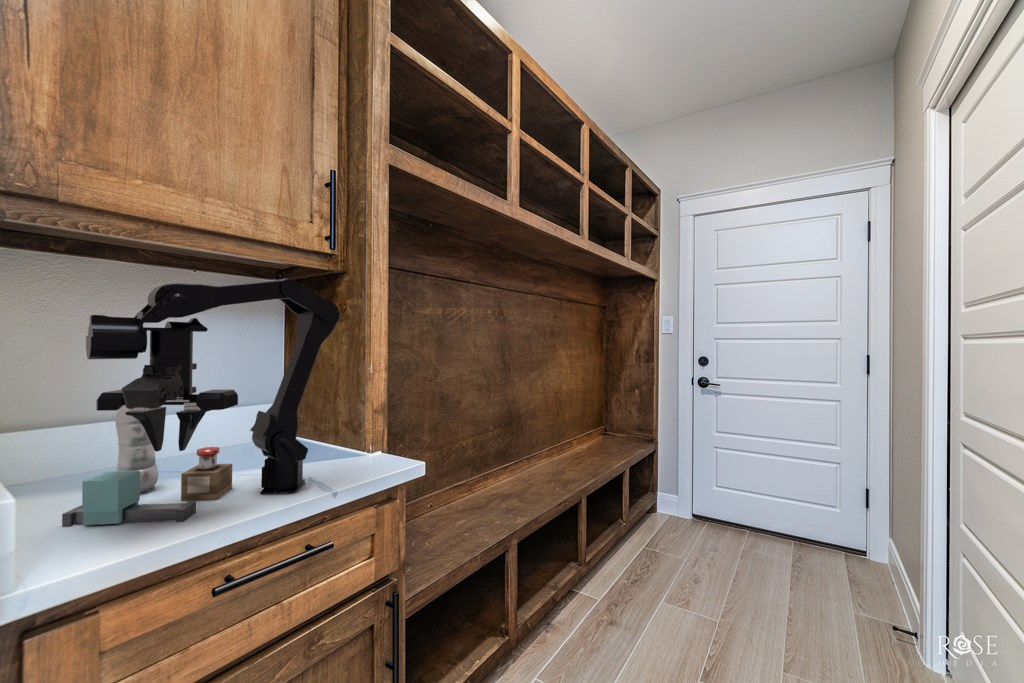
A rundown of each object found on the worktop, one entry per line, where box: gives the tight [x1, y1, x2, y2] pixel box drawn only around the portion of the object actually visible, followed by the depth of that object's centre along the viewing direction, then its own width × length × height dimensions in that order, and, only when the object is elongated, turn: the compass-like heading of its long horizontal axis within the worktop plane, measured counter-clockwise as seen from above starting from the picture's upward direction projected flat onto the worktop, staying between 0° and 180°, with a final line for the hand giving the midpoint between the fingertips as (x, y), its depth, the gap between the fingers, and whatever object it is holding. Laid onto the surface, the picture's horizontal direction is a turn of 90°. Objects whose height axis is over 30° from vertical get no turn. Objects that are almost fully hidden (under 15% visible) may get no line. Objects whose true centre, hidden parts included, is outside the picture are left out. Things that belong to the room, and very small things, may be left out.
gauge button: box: [196, 446, 220, 471], centre depth 84 cm, size 4×4×6 cm
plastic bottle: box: [114, 405, 159, 493], centre depth 85 cm, size 6×7×20 cm
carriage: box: [81, 470, 141, 526], centre depth 72 cm, size 5×5×7 cm
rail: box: [61, 500, 197, 528], centre depth 72 cm, size 17×4×2 cm, turn 99°
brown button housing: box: [180, 463, 233, 502], centre depth 84 cm, size 6×6×5 cm
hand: (170, 450), depth 74 cm, fingers open, 3 cm apart
